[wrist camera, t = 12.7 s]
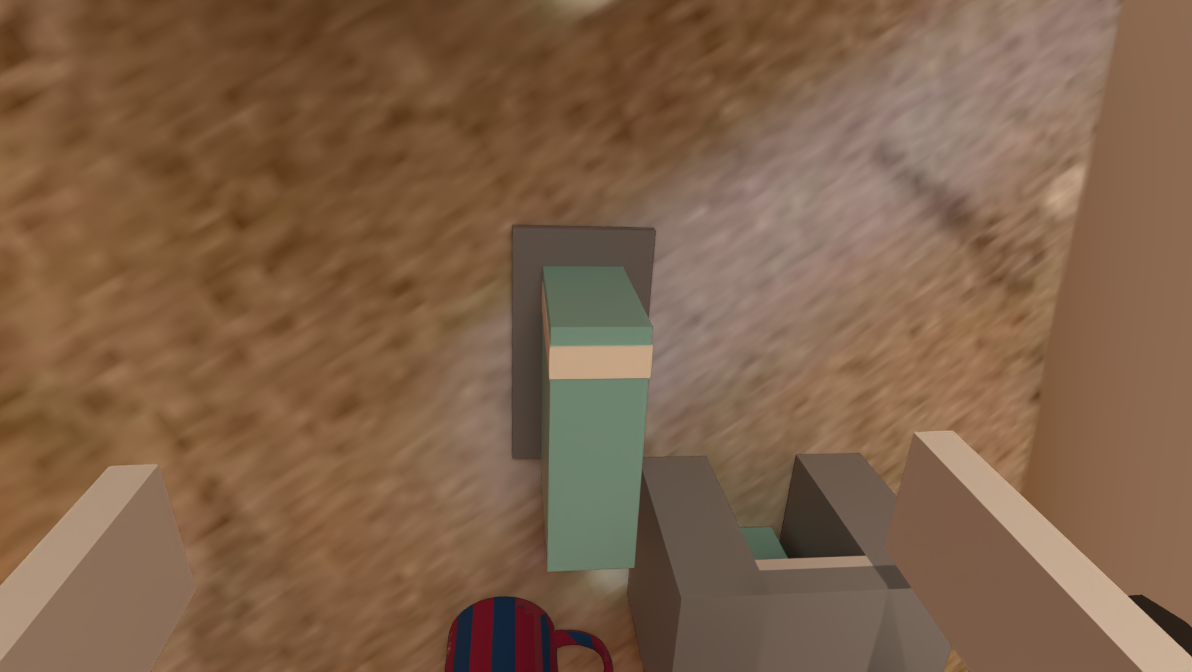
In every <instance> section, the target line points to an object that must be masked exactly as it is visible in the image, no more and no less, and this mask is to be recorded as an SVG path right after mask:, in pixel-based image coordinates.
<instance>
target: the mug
mask: <svg viewBox="0 0 1192 672" xmlns="http://www.w3.org/2000/svg"><path fill="white" fill-rule="evenodd" d="M566 645H580V646H584V647H588V648H591V649H594V650H595V651H596V652H597V653H599V654H600V656H601V657H602V660H603V663H604V672H613V665H612V660H611V657H610V654H609V652H608V650H607V648H606V647H605V645H604V644H603V642H602V641H601V640H600V639H598V638H597V637H595V636H594V635H591V634H589V633H586V632H582V631H575V630H555V631H554V626H553V623H552V621H551V619H550V617H549V616H548V615H547V613H546V612H545V611H543V610H542V609H541V608H540V607H538V606H537V605H535V604H533V603H532V602H529V601H527V600H524V599H520V598H515V597H495V598H489V599H486V600H483V601H479V602H477V603H475V604H473V605H471V606H470V607H468V608H467V609H465V610H464V611H463V612H462V613H461V614H460V615H459V616H458V617H457V618H456V619H455V621H454V622H453V624H452V626H451V629H450V632H449V637H448V646H447V655H446V664H445V672H558V666H557V648H559V647H562V646H566Z"/></svg>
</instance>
